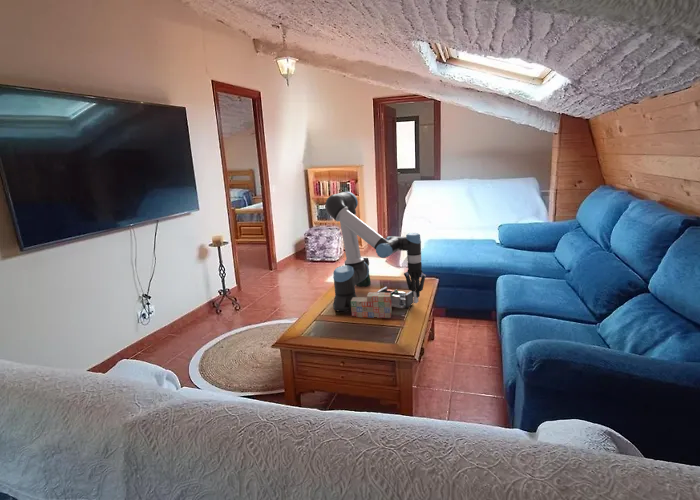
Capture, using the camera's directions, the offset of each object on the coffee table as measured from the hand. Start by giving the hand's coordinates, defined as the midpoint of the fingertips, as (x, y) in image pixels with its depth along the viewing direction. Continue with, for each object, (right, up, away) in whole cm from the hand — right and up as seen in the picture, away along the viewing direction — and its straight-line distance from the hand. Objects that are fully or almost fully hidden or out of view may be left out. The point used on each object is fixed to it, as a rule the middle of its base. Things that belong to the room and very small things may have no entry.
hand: (416, 302), depth 227 cm
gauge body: (-11, -2, +9) cm, 14 cm away
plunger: (-9, -2, +7) cm, 12 cm away
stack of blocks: (-25, -7, -5) cm, 26 cm away
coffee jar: (-28, +6, +45) cm, 53 cm away
